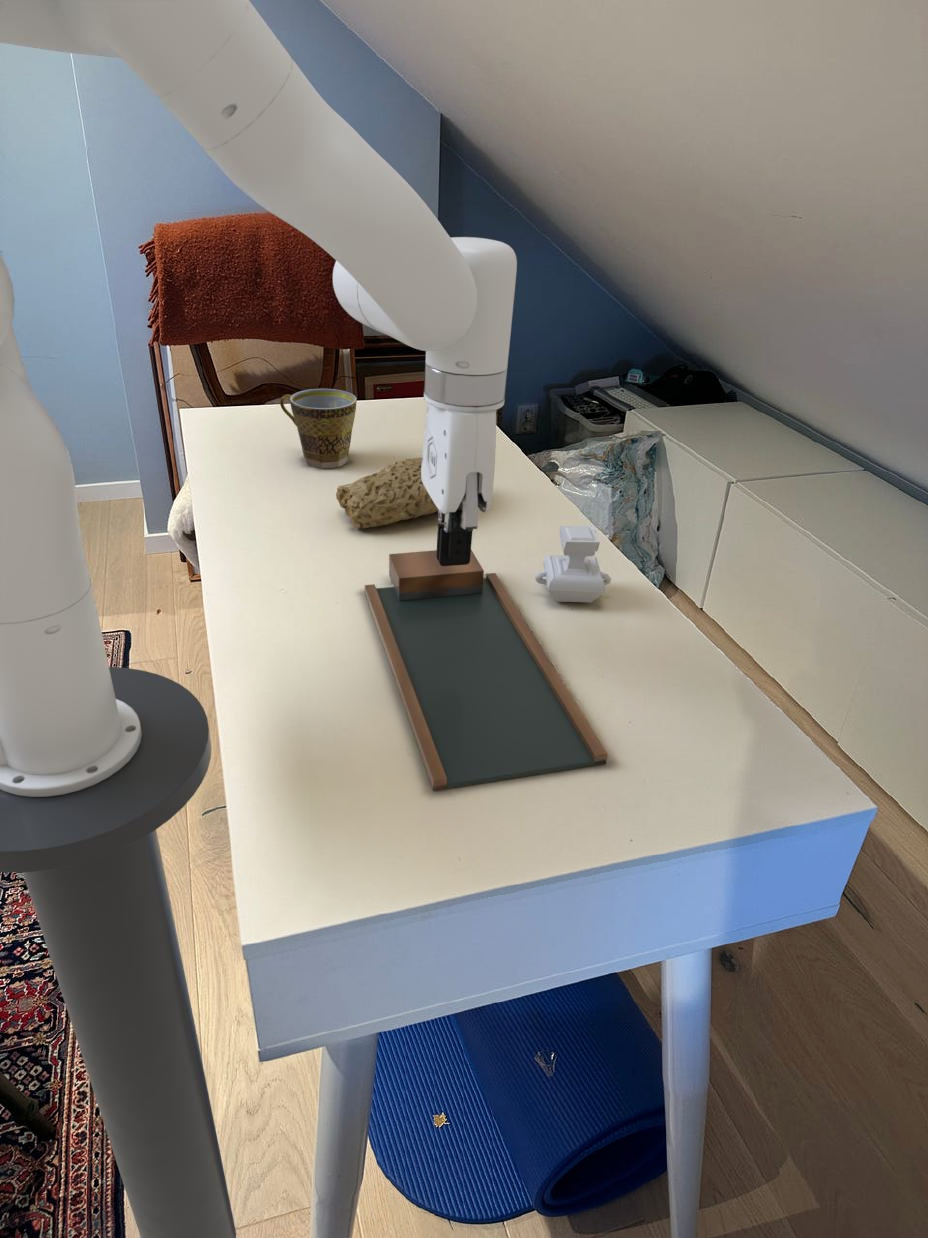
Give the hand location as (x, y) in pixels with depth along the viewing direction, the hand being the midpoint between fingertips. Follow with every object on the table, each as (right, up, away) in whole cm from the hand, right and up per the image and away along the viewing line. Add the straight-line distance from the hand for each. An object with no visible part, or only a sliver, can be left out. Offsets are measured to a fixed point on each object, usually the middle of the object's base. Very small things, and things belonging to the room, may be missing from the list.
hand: (452, 561), depth 89 cm
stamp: (+14, -3, +14) cm, 20 cm away
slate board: (+2, -11, 0) cm, 11 cm away
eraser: (-2, -2, +14) cm, 14 cm away
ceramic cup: (-22, +19, +47) cm, 56 cm away
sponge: (-7, +9, +33) cm, 35 cm away
